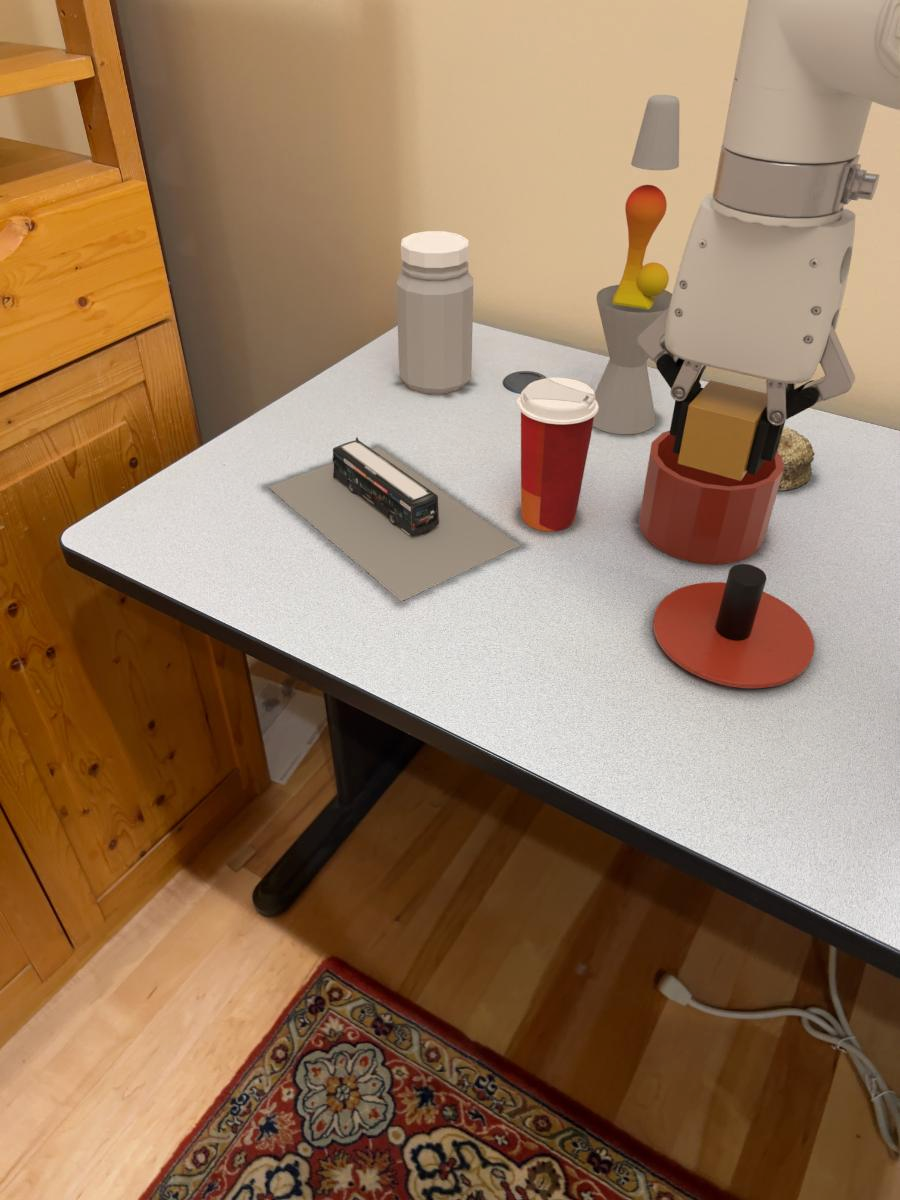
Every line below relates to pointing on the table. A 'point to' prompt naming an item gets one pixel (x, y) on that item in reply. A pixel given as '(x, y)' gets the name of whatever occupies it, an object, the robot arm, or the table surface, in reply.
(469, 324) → the jar
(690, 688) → the table surface
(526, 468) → the paper cup
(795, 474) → the cake
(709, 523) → the pot
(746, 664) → the lid
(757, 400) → the block
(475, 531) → the flat grey placemat
